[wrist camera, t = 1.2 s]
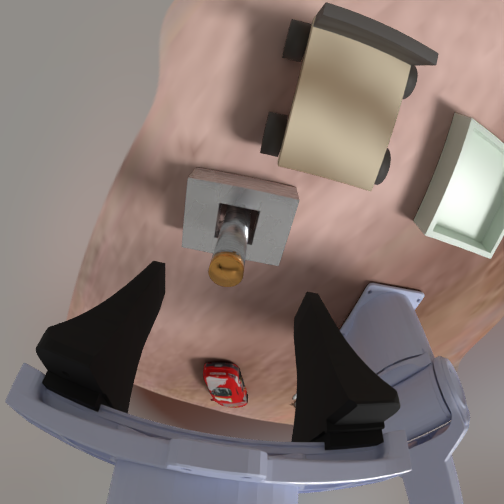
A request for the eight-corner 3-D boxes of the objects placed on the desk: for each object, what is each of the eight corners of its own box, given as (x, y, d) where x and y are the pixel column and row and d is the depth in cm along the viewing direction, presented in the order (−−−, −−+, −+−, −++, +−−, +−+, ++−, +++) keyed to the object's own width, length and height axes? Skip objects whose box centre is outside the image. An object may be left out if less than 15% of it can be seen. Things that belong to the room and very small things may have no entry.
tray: (479, 245, 23) (490, 258, 20) (413, 221, 22) (424, 235, 20) (517, 161, 16) (531, 170, 14) (454, 112, 16) (471, 118, 14)
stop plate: (277, 248, 24) (278, 266, 22) (189, 231, 24) (181, 247, 22) (296, 187, 21) (299, 200, 19) (196, 167, 21) (187, 177, 18)
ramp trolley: (367, 176, 20) (403, 217, 14) (260, 147, 19) (256, 177, 14) (402, 64, 14) (454, 64, 9) (290, 24, 14) (300, -5, 8)
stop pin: (249, 222, 23) (239, 289, 16) (225, 218, 23) (206, 283, 16) (253, 201, 22) (246, 263, 15) (229, 196, 22) (210, 256, 15)
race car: (250, 397, 43) (248, 417, 39) (219, 396, 43) (216, 416, 40) (240, 358, 35) (237, 383, 32) (201, 356, 36) (196, 381, 32)
